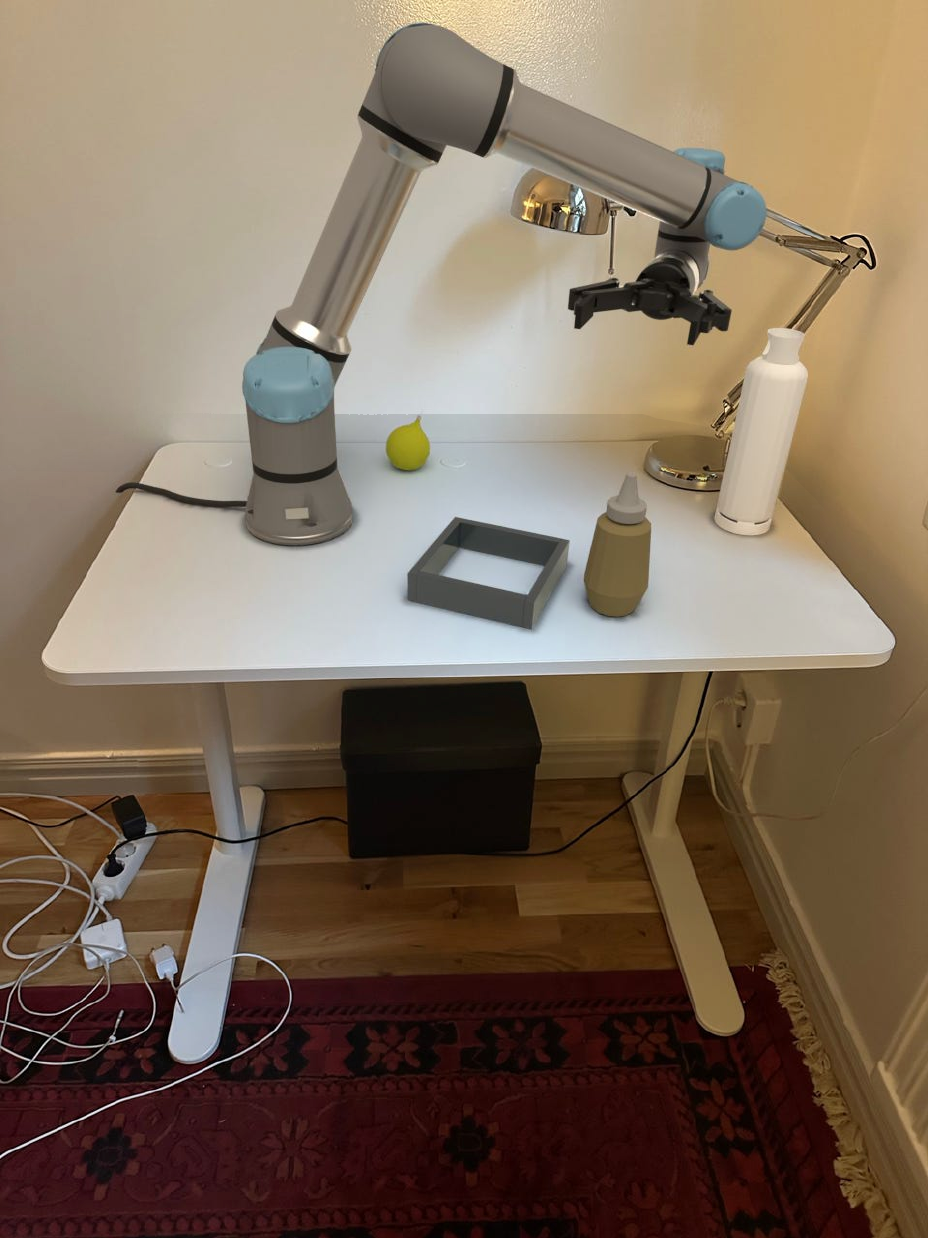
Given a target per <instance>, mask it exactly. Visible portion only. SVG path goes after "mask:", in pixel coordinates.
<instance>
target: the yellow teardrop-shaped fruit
mask: <svg viewBox="0 0 928 1238" xmlns="http://www.w3.org/2000/svg"><path fill="white" fill-rule="evenodd" d="M422 414H423V410H421V412H420V414H418V415H417V417H416V419H415V420H414V421H413V422H412V423H409V424H404V425H401V426H398V427H397V428H395V429H393V430H392V432H391V433H390V434H389V435H388V437H387V439H386V442H385V453H386V456H387V459H388V460H389V461H390V462H391V464H392V465H393V466H395V467H396V468H398V469H400V470H403V471H413V470H417V469H418V468H420V467H422V466H423V465H425V463H426V462H427V460H428V458H429V456H430V453H431V444H430V440H429V438H428V436H427V434H426V433H425V432H424V430H423V428H422V426H421V419H422Z"/></svg>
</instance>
